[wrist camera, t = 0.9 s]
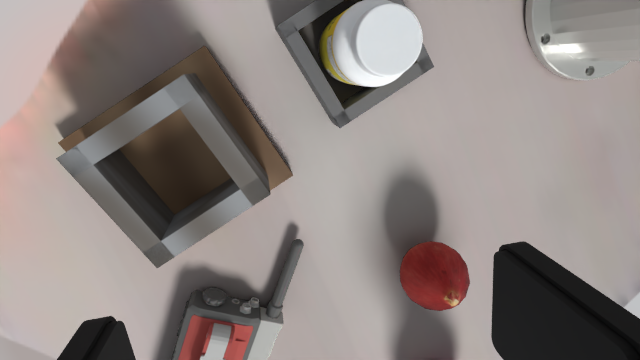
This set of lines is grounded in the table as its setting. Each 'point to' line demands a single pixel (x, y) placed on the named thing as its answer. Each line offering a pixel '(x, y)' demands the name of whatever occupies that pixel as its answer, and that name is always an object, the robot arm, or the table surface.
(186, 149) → the socket
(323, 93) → the frame
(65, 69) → the table surface
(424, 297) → the onion
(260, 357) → the walkie-talkie
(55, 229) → the table surface
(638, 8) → the robot arm
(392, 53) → the supplement bottle
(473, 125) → the table surface
